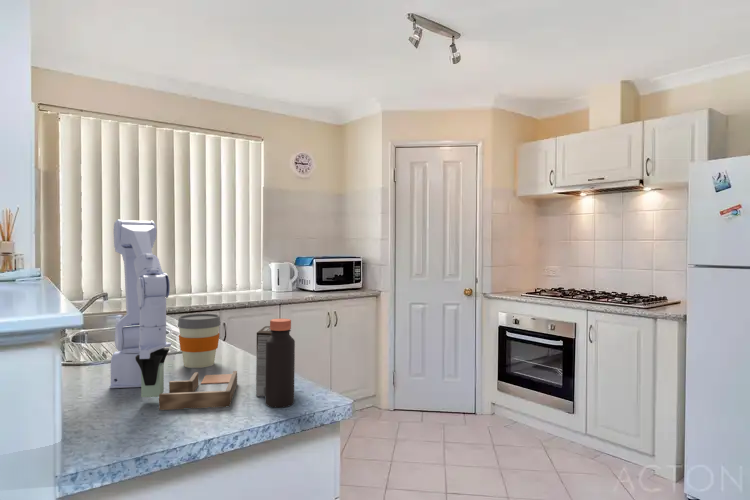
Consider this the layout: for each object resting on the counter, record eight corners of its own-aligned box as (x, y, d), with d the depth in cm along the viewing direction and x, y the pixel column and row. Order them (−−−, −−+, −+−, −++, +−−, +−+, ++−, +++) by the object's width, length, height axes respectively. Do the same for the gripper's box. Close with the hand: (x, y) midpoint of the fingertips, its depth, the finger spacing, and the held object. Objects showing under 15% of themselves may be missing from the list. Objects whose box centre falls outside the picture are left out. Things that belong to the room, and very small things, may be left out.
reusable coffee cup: (220, 358, 160) (220, 312, 159) (220, 368, 148) (220, 318, 147) (178, 360, 156) (179, 314, 155) (176, 371, 144) (176, 320, 143)
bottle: (259, 406, 114) (260, 321, 114) (275, 397, 120) (276, 317, 120) (284, 409, 112) (285, 323, 111) (299, 400, 118) (300, 318, 118)
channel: (159, 410, 110) (159, 394, 110) (176, 386, 129) (176, 373, 129) (229, 406, 113) (229, 391, 113) (237, 383, 132) (237, 370, 132)
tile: (200, 384, 131) (200, 383, 131) (205, 376, 139) (205, 375, 139) (231, 382, 132) (231, 381, 132) (234, 374, 140) (234, 373, 140)
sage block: (141, 397, 113) (141, 367, 113) (146, 392, 117) (146, 363, 117) (159, 396, 114) (159, 367, 114) (163, 391, 118) (163, 362, 118)
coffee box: (264, 385, 130) (264, 325, 130) (288, 386, 130) (288, 326, 130) (254, 396, 121) (255, 332, 121) (280, 397, 121) (281, 332, 121)
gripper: (163, 330, 109) (163, 390, 109) (177, 320, 123) (177, 373, 123) (129, 331, 107) (129, 392, 108) (147, 320, 122) (147, 374, 122)
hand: (152, 382), depth 115 cm, fingers closed on sage block, 4 cm apart
